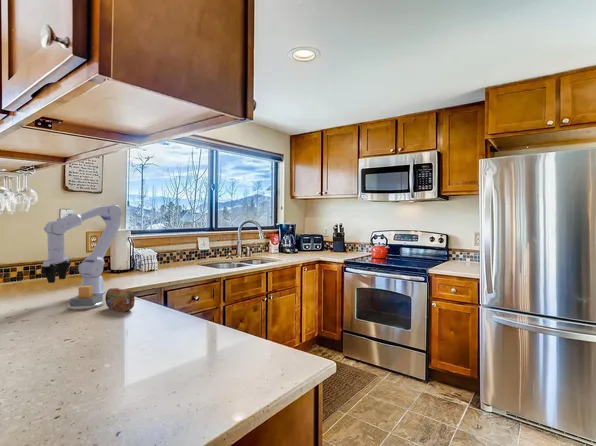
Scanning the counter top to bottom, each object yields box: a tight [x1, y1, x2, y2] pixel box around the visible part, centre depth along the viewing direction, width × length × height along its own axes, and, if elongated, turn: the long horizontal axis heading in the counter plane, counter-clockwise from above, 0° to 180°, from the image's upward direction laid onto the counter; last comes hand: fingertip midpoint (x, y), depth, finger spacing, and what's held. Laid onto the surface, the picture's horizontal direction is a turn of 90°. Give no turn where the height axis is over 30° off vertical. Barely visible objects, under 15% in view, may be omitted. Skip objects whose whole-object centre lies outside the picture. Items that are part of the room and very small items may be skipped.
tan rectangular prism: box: [78, 285, 93, 298], centre depth 138 cm, size 3×4×7 cm
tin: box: [104, 287, 136, 313], centre depth 132 cm, size 15×3×8 cm, turn 62°
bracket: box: [68, 293, 105, 311], centre depth 138 cm, size 12×12×4 cm
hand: (57, 280), depth 143 cm, fingers open, 7 cm apart
